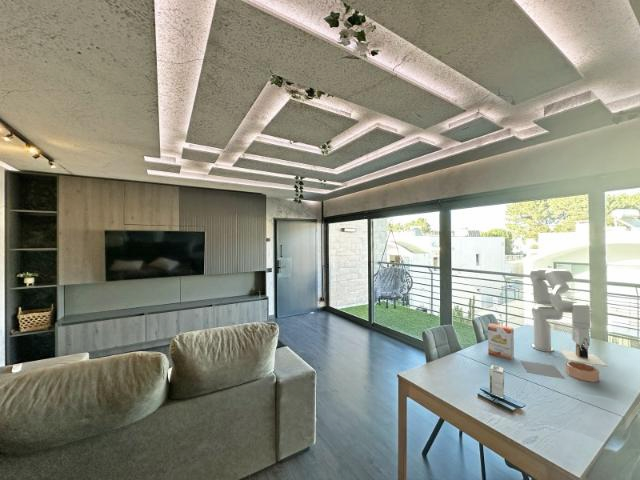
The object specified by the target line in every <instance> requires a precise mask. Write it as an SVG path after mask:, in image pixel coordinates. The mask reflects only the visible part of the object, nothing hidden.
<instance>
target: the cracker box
mask: <svg viewBox="0 0 640 480" xmlns="http://www.w3.org/2000/svg"><path fill="white" fill-rule="evenodd" d="M514 335H515V334H514V327H509V326H505V325H500V324H496V323H489V324H488V325H487V343H488V344H487V345H488V347H487V349H488V350H487V351H488V354H490V355H493V356H498V357H500V358H504V359H508V360H513V359H514V357H515V356H514V355H515V350H514V349H515V348H514V347H515V346H514V345H515V341H514V340H515V338H514Z"/></svg>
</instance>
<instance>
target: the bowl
mask: <svg viewBox="0 0 640 480" xmlns="http://www.w3.org/2000/svg"><path fill="white" fill-rule="evenodd" d="M565 373H567V374H568V376H569V377H570V376H571V377H573V378H575V379H578V380H580V381H584V382H592V383H594V382H595V383H596V382H598V381H600V370H599V369H597V368H596V367H595V365H592V364H585V363H578V362H572V361H569V360H568V361H565Z"/></svg>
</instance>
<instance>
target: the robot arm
mask: <svg viewBox="0 0 640 480" xmlns="http://www.w3.org/2000/svg"><path fill="white" fill-rule="evenodd" d="M529 278H530V281H531V283H532V287H533V289H532V290H533V291H532V292H533V300H534V302H535V304H537V305H536V306H533V307H532V308H531V313H532V318H533V340H534V341H533V343H532V344H531V347H532V348H533V349H534V350H538V351H542V352H554V351H555V349H554V347H552V340H551V339H552V335H551V334H552V332H551V331H552V329H551V325H550V323H549V322H548V321H549V320H550V321H551V320H553V321H556V320H557V321H559V320H560V321H561V320H562V319H563V315H564V313H566V314H567V313H568V314H571V319H572V320H571V321H572V322H571V324H572V325H571V326H572V331H571V332H572V335H571V336H572V337H571V339H572V341H573V342H575V346H576V345H579V346H580V349H581V350H580V357H585V358H588V354H589V347H590V345H591V338H590V337H591V336H590V329H591V308H590V306H589V305H588V304H586V303H583V302H581V301H578V300H567V299H566V300H565V299H562V296H561V295H562V294H564V293H568V291H569V290H570V286H569V285H568V283H570V282H572V281H573V279H574V276H573V274H572V273H571V271H570V270H567V269H562V268H561V269H559V268H533V269H532V270H531V271H530V274H529ZM546 281H547V283H548V284H549V286H550V288H551V289H552V290H551V291H549V287H548V284H547V283H546ZM538 304H539V305H538ZM546 305H547V306H546ZM549 305H550V306H549ZM547 320H548V321H547ZM582 346H584V347H583V348H582ZM587 351H588V353H587Z"/></svg>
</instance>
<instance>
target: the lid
mask: <svg viewBox="0 0 640 480" xmlns="http://www.w3.org/2000/svg"><path fill="white" fill-rule="evenodd" d="M583 347H584V346H582V348H583ZM580 350H581V349H580V346H579V345H576V344H575V351H573V350H572V351H571V350H564V349H558V351H559V353H561V354H562V356H564V357H565V358H566V359H567V360H568V362H569V361H572V362H578V363H585V364H588V365H591V366H600V367H606V368H608V367H609V365H608V364H607V363H605V362H604V361H603V360H601V359H600V357H598V356H597V355H595V354H594V353H589V350H588V351H587V353H588V358H585V357H580Z"/></svg>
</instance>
